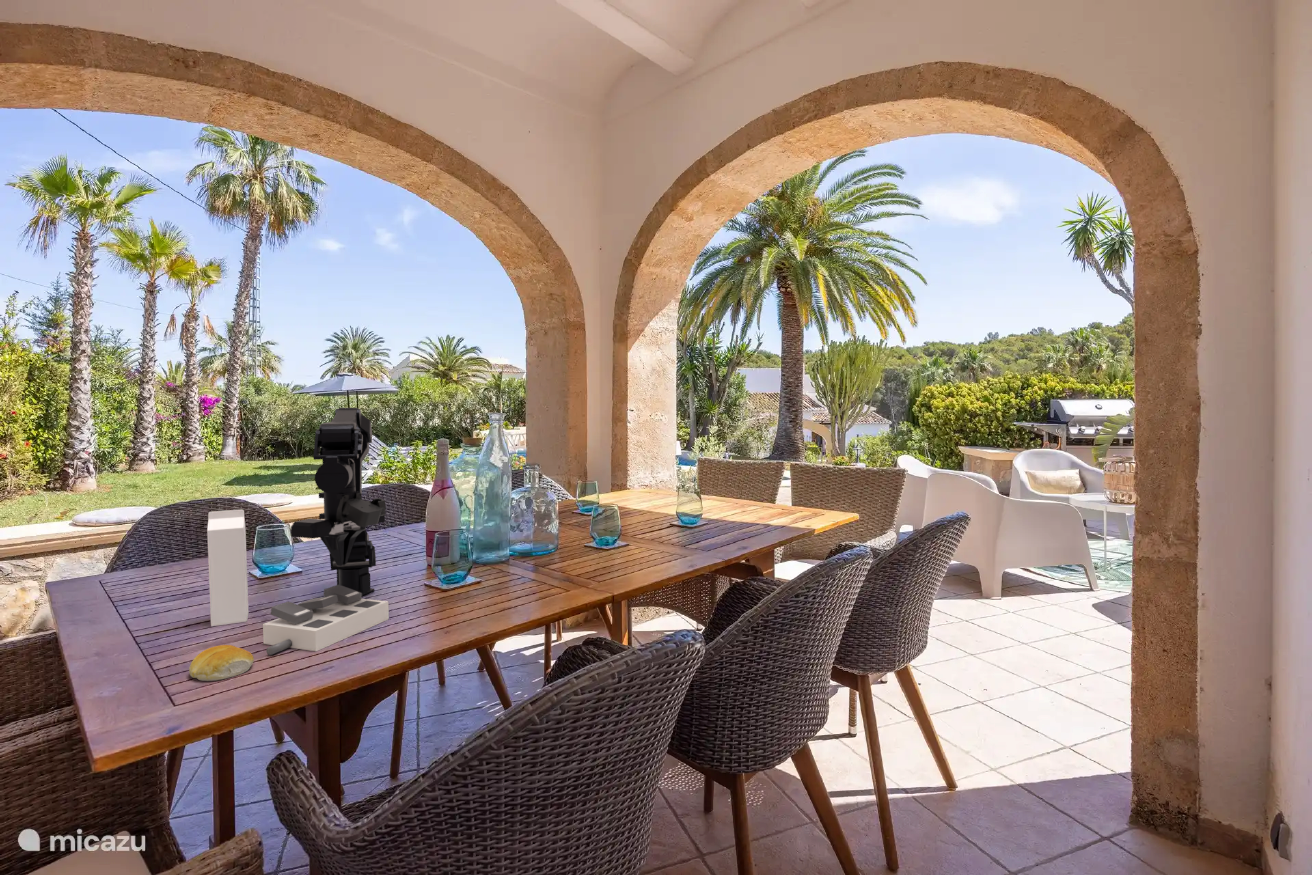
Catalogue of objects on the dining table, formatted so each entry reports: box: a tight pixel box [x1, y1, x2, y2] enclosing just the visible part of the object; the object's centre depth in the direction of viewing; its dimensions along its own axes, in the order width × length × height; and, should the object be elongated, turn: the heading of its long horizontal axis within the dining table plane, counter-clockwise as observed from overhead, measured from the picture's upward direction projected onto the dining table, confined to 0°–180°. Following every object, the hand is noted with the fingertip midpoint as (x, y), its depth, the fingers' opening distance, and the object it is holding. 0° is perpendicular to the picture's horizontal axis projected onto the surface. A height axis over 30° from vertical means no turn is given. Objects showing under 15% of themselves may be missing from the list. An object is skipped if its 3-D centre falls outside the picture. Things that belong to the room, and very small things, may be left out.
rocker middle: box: [297, 595, 338, 610], centre depth 125 cm, size 6×4×2 cm, turn 71°
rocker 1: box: [270, 601, 313, 624], centre depth 119 cm, size 6×4×2 cm, turn 72°
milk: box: [206, 509, 249, 627], centre depth 130 cm, size 6×6×22 cm
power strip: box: [262, 597, 390, 656], centre depth 122 cm, size 12×22×4 cm, turn 162°
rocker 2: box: [323, 584, 363, 605], centre depth 130 cm, size 6×4×2 cm, turn 72°
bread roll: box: [188, 644, 255, 682], centre depth 106 cm, size 8×9×4 cm
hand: (341, 565), depth 130 cm, fingers closed
